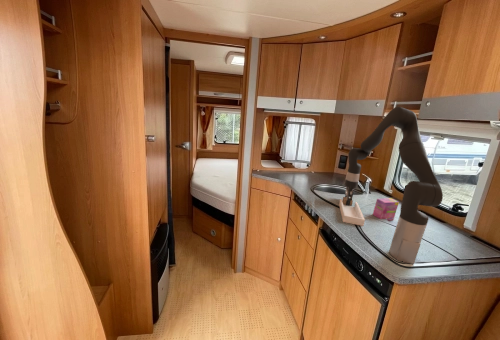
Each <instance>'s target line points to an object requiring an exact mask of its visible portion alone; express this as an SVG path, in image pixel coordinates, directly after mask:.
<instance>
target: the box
mask: <svg viewBox="0 0 500 340" xmlns="http://www.w3.org/2000/svg"><path fill="white" fill-rule="evenodd" d="M399 204H400V202H399V200H396V199H394V198H392V197H385V198H383V197H382V198H376V201H375V206H374V209H373V213H372V215H373V216H374V217H376V218H377V219H380V220H385V219H386V220H387V221H395V216H396V214H397V209H398V206H399Z"/></svg>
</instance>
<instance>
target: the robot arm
mask: <svg viewBox="0 0 500 340" xmlns="http://www.w3.org/2000/svg"><path fill="white" fill-rule="evenodd" d="M392 126H393V127H395V128H398V129H400V130H401V132H402V135H403V136H402V137H403V138H402V139H401V140H400V142H399V144H398V152H399V156H400V160H401V162H402V164H403V165H405V166H406V168H407V169H409V170H410V171H411V173H413V174H414V175H415V177H416V178H417V179H418V181H417V180H411V181H409V182H407V184H406V186H405V188H404V191H403V196H402V200H401V204H400V213H399V217H398V220H397V224H396V227H395V230H394V234H393V237H392V241H391V243H390V247H389V250H388V251H389V252H388V253H389V254H390V256H392V257H393V258H395V260H396V259H397V260H396V261H398V262H402V261H403V263H406V264H407V263H408V264H411V265H415V262H416V260H417V256H418V252H419V250H420V248H421V242H422V241H423V240H422V239H423V236H424V235H425V231H426V228H427V225H428V222H429V217H428V216H427V215H426V213H424V212H421V211H419V210H418V208H419V206H422V207H423V206H425V207H434V208H435V207H438V206H439V205H440V204H441V203H442V202H443V190H442V186H441V185H440V183H439V181H438V179H437V176H436V175H435V173H434V170H433V168H432V166H431V163H430V161H429V158H428V155H427V151H426V147H425V145H424V143H423V140H422V136H421V132H420V129H419V124H418V118H417V114H416V113H415V112H414V111H413V110H411V109H407V108H404V107H401V106H396V107H393V108H392V109H391V110H390V111H388V113H387V114H386V115H385V116H384V118H383V119H382V120H381V121H380V123H379V124H378V125H377V127H376V128H375V129H374V130H373V131H372V132H371V134H369V136H367V137H366V138H365V139H364V140H363V141H362V142H361V143H360V148H359V147H358V148H357V147H353V148H351V149H350V150H349V151H348V155H347V156H348V169H347V173H346V176H345V179H344V186H345V187H346V188H345V190H344V194H345V195H344V197H347V201H346V206H350V201H352V200H353V196H354V192H355V191H354V189H357V188H358V184H359V180H360V174H361V170H362V165H361V164H360V163H358V160H360V161H361V160H366V158H368V156H369V155H370V153H371V152H372V150H374V149H375V148H376V147H378V146H379V145H380V144H381V142H382V141H383V138H384V134H385V132H386V130H387V129H388V128H390V127H392Z"/></svg>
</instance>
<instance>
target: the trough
mask: <svg viewBox="0 0 500 340" xmlns="http://www.w3.org/2000/svg"><path fill="white" fill-rule="evenodd" d="M342 201H343V198H340V199H339V203H338V204H339V209H340V210H339V211H340V215H341V218H342V219H341V220H342V222H343V223H348V224H351V225H352V224H353V225H358V226H361V227H363V226H364V224H365V222H366V219H365V216H364V214H363V212H362V210H361V208H360V205H359V203H358V202H357V201H355V203H354V206H346V205H343V202H342Z"/></svg>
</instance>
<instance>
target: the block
mask: <svg viewBox="0 0 500 340" xmlns="http://www.w3.org/2000/svg"><path fill="white" fill-rule="evenodd" d="M346 201H347V197H345V196H343V197H342V202H343V205H346ZM350 206H351V207H353V199H352V201H350Z"/></svg>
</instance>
